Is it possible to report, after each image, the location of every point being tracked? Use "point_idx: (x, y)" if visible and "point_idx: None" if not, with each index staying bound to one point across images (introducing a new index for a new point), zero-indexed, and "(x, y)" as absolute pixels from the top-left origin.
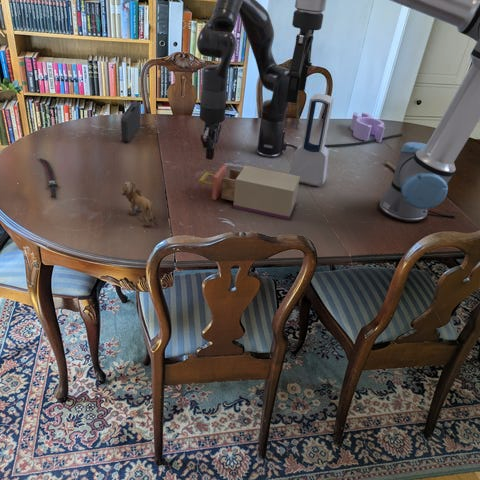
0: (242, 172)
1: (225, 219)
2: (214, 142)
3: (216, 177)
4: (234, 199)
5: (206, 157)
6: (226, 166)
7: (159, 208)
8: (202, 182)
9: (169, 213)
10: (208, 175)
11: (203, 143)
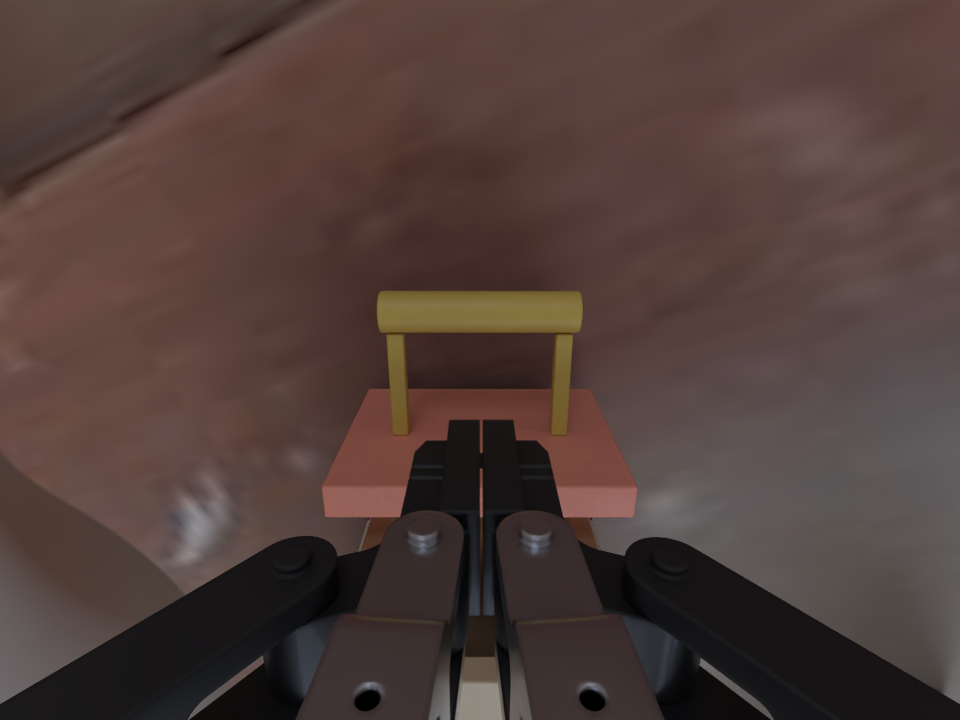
0: (477, 695)
1: (216, 507)
2: (501, 712)
3: (324, 510)
4: (359, 550)
5: (423, 444)
6: (622, 513)
7: (68, 61)
8: (383, 331)
9: (57, 170)
10: (546, 332)
11: (98, 675)
